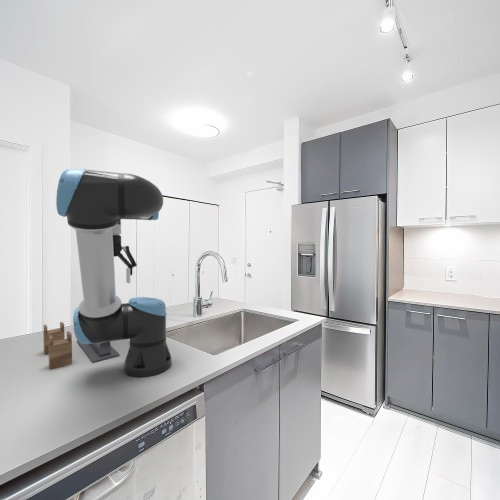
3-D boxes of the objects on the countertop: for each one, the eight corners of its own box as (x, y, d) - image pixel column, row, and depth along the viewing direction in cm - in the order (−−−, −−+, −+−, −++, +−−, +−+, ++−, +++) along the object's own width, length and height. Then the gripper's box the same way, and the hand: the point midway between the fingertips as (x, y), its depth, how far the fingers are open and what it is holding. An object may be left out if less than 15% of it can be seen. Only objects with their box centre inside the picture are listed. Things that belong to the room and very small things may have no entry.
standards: (72, 363, 94) (71, 334, 94) (50, 369, 90) (49, 338, 89) (63, 347, 109) (62, 321, 108) (43, 351, 104) (43, 325, 104)
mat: (119, 355, 101) (119, 354, 101) (92, 363, 95) (92, 361, 95) (100, 336, 121) (100, 335, 121) (76, 341, 115) (76, 340, 115)
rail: (110, 354, 100) (110, 341, 100) (99, 357, 98) (99, 343, 98) (94, 338, 118) (94, 326, 118) (85, 339, 116) (85, 328, 116)
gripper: (137, 235, 125) (137, 280, 126) (74, 234, 108) (75, 286, 108) (144, 235, 120) (144, 282, 120) (79, 233, 103) (80, 289, 103)
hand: (111, 284), depth 114 cm, fingers open, 13 cm apart
